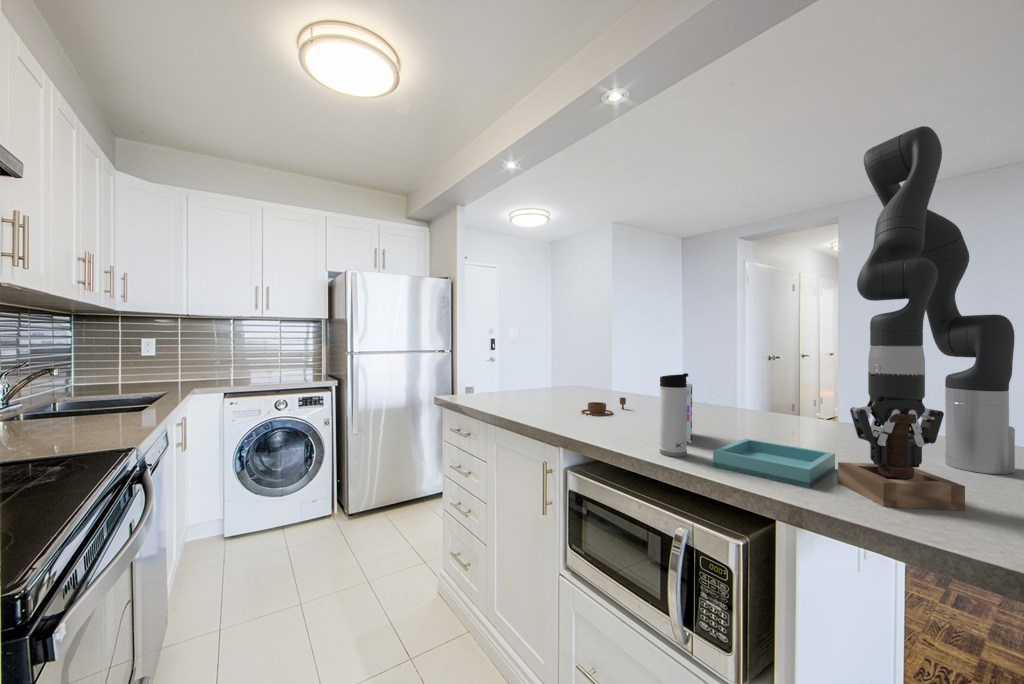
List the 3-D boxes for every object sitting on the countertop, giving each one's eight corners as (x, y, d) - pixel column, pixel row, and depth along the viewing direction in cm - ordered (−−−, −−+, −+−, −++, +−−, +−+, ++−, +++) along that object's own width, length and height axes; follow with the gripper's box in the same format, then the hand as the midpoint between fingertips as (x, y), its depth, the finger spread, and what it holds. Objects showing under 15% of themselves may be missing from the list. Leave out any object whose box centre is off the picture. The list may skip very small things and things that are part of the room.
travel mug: (685, 458, 98) (685, 374, 98) (657, 454, 102) (657, 373, 102) (690, 452, 104) (690, 372, 104) (662, 449, 107) (662, 371, 107)
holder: (906, 485, 80) (906, 464, 80) (965, 510, 68) (965, 486, 68) (837, 482, 82) (838, 462, 82) (883, 506, 70) (883, 482, 70)
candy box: (693, 444, 113) (693, 383, 113) (670, 443, 114) (670, 383, 114) (681, 433, 126) (681, 379, 126) (661, 432, 127) (661, 378, 127)
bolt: (910, 503, 71) (911, 415, 71) (872, 494, 75) (873, 411, 75) (919, 496, 74) (920, 412, 74) (882, 488, 79) (883, 408, 79)
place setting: (576, 412, 168) (576, 397, 168) (624, 411, 169) (624, 397, 169) (587, 420, 150) (587, 404, 150) (641, 419, 152) (641, 403, 152)
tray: (746, 452, 104) (746, 438, 104) (835, 469, 90) (835, 453, 90) (713, 466, 92) (713, 450, 92) (809, 488, 79) (809, 469, 79)
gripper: (923, 370, 78) (922, 461, 78) (838, 369, 80) (838, 458, 80) (960, 373, 70) (960, 474, 70) (866, 372, 72) (866, 470, 72)
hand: (895, 465), depth 75 cm, fingers closed on bolt, 4 cm apart
